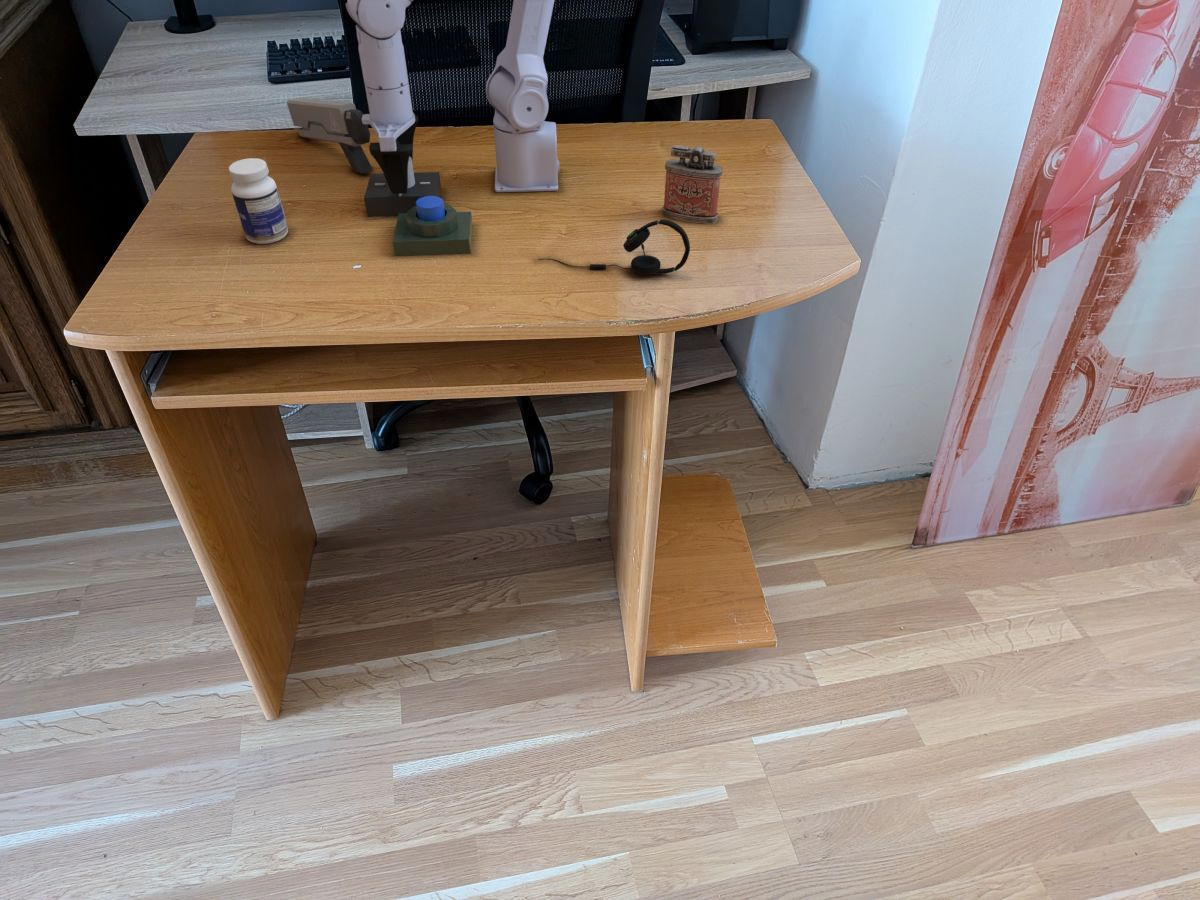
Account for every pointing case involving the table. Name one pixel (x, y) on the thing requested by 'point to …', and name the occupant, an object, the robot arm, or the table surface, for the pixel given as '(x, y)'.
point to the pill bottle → (257, 201)
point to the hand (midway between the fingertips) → (402, 180)
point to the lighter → (692, 185)
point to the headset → (644, 262)
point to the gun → (333, 127)
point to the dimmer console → (390, 204)
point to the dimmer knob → (410, 173)
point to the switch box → (433, 234)
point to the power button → (430, 208)
